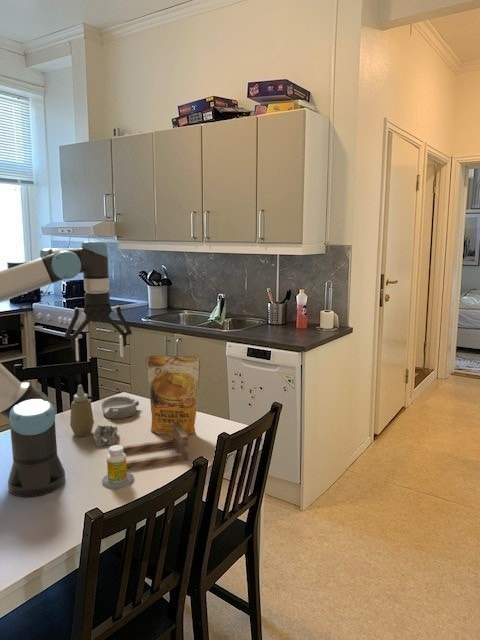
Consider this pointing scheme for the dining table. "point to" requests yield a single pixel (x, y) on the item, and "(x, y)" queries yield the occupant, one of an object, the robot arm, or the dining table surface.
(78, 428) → the squeeze bottle
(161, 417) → the pancake mix bag
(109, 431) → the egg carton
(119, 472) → the supplement bottle
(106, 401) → the dish
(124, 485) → the coaster
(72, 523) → the dining table surface
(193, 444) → the dining table surface
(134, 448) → the lane rack
